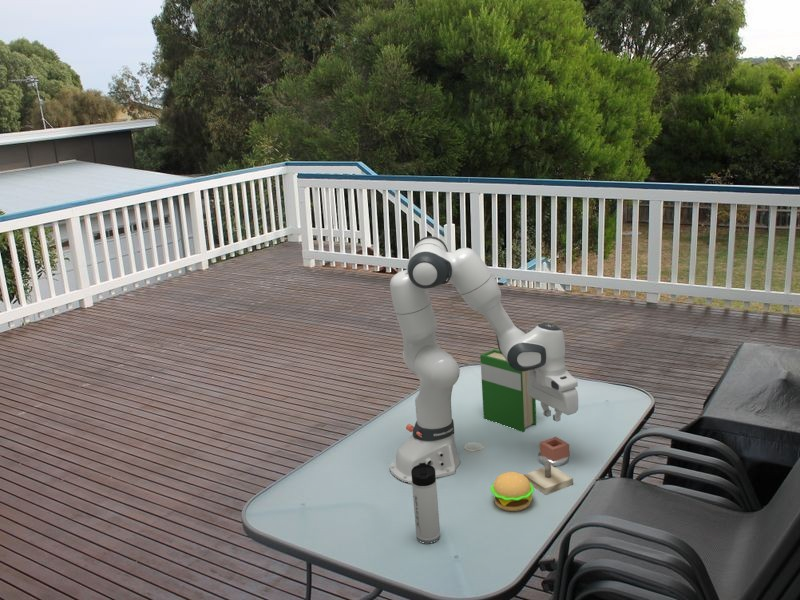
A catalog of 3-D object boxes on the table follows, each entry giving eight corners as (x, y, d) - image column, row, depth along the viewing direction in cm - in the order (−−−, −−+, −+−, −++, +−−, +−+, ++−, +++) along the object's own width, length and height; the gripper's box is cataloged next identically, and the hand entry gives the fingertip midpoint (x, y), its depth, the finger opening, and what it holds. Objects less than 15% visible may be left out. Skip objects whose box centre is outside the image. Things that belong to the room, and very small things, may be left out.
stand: (545, 494, 210) (544, 474, 209) (524, 480, 219) (523, 460, 217) (572, 484, 215) (572, 464, 213) (550, 470, 223) (550, 451, 222)
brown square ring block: (553, 461, 226) (552, 449, 225) (539, 453, 231) (539, 442, 230) (569, 455, 228) (569, 444, 227) (556, 448, 234) (555, 436, 233)
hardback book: (536, 424, 255) (534, 359, 249) (522, 432, 250) (520, 365, 244) (497, 411, 268) (494, 349, 262) (483, 418, 263) (480, 355, 257)
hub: (551, 469, 224) (550, 458, 223) (532, 458, 232) (532, 447, 231) (574, 461, 228) (573, 449, 227) (555, 450, 236) (554, 439, 235)
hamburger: (541, 510, 203) (540, 481, 201) (499, 517, 201) (497, 489, 199) (525, 489, 215) (524, 462, 212) (485, 496, 212) (484, 469, 210)
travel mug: (439, 529, 198) (434, 461, 193) (441, 543, 192) (436, 473, 186) (415, 531, 198) (410, 463, 193) (417, 545, 192) (411, 475, 186)
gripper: (521, 368, 230) (523, 409, 234) (564, 388, 213) (565, 432, 216) (537, 364, 233) (538, 404, 237) (581, 383, 215) (582, 426, 219)
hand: (552, 418), depth 226 cm, fingers open, 3 cm apart
